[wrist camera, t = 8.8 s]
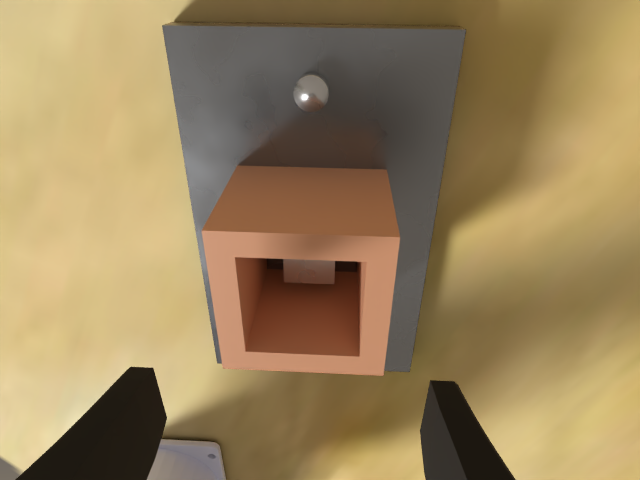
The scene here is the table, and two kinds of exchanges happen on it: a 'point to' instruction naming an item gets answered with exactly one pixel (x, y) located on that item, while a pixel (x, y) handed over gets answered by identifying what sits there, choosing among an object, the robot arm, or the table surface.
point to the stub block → (321, 127)
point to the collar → (305, 244)
